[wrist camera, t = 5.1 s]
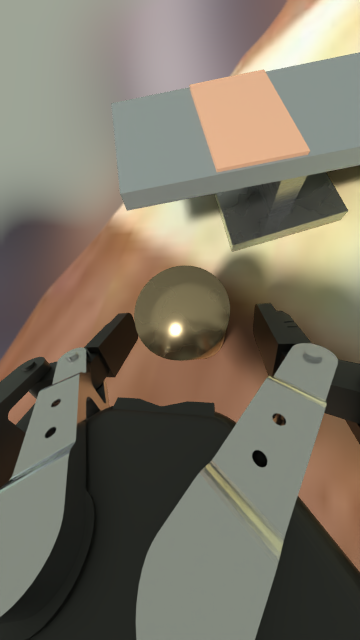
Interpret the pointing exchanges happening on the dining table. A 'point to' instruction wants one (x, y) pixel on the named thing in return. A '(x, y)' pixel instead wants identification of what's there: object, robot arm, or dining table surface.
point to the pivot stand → (278, 209)
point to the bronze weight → (183, 314)
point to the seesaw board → (238, 132)
